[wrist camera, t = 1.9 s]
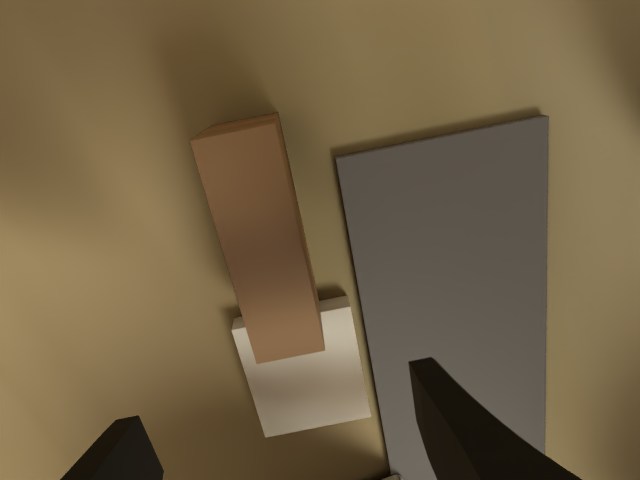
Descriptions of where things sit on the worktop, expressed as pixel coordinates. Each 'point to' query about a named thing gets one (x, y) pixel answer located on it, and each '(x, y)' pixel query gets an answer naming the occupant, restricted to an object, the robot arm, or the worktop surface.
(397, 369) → the mat
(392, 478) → the coffee box
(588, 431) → the worktop surface
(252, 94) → the worktop surface
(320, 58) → the worktop surface
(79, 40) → the worktop surface
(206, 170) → the spatula
